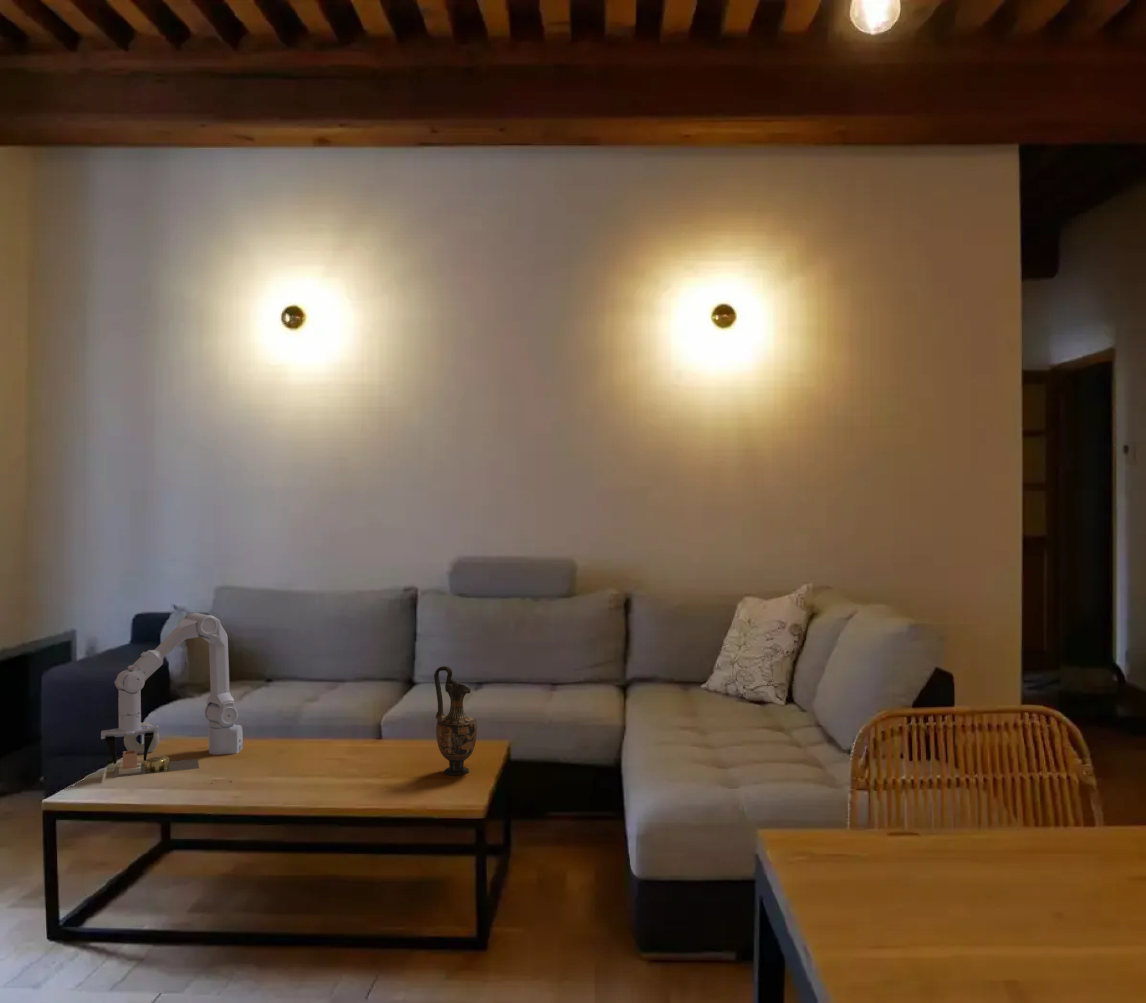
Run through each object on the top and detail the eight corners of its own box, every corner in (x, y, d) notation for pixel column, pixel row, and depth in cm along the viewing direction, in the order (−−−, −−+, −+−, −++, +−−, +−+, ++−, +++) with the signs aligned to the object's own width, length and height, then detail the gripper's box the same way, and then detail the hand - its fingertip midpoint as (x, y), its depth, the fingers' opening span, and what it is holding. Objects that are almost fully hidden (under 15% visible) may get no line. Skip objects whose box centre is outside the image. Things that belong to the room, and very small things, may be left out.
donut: (122, 758, 283) (122, 724, 283) (125, 754, 287) (125, 722, 286) (158, 756, 285) (158, 723, 285) (160, 753, 289) (160, 720, 289)
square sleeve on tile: (141, 766, 271) (141, 748, 271) (140, 772, 266) (140, 753, 266) (119, 769, 269) (119, 750, 269) (118, 774, 264) (118, 756, 264)
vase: (469, 778, 264) (469, 671, 263) (427, 776, 266) (427, 669, 266) (482, 766, 275) (482, 664, 275) (441, 764, 278) (441, 662, 277)
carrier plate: (197, 762, 279) (197, 748, 279) (199, 771, 270) (199, 757, 270) (115, 771, 270) (115, 757, 270) (113, 781, 261) (113, 766, 261)
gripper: (100, 719, 261) (100, 768, 261) (157, 714, 266) (158, 762, 267) (101, 713, 267) (102, 761, 267) (157, 708, 273) (158, 755, 273)
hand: (130, 761), depth 267 cm, fingers open, 7 cm apart
